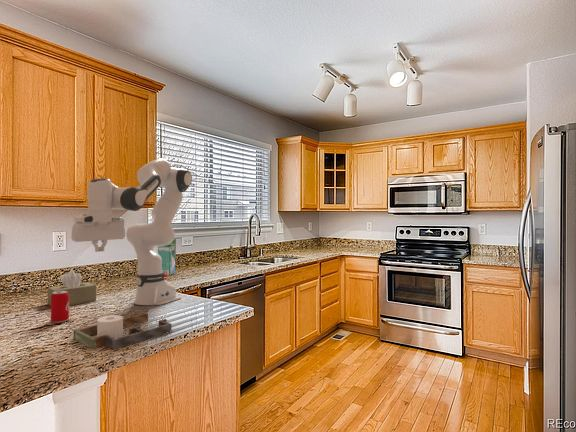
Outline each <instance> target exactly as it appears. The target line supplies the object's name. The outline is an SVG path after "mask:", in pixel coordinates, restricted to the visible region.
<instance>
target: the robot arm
mask: <svg viewBox="0 0 576 432" xmlns="http://www.w3.org/2000/svg"><path fill="white" fill-rule="evenodd" d="M136 178H137V181H138V183H139V184H140V185H139V186H131V187H118V186H117V185H115V184H114V183H112V181H111V179H109V178H106V177H105V178H104V177H103V178H93V179H91V180H90V181H89V182H88V185H87V202H88V203H87V204H88V205H87V206H88V207H87V213H83V214H80V215H77V216H74V218H73V221H74V223H73V225H72V226H71V227H72V229H71V237H70V238H71V240H72V241H73V242H77V243H79V242H82V243H83V242H91V244H92V245H93V247H94V251H95V252H96V253H98V252H105V247H106V245H107V244H108V241H110V240H111V241H114V240H123V239H124V238H125V237H126V240H127V241H128V242H129V243H130V244H131V245H132V247H133V248H134V251H135V254H136V258H137V274H136V292H135V298H134V301H133V304H135V305H138V306H160V305H161V306H163V305H166V304H168V303H172V302H174V301H177V300H181V298H182V297H181V295H179V294H177V292H176V291H177V290H176V287H175V286H174V285H173V284H172V283H170V282H169V281H167V280H166V279H165V278H169V277H170V275H169V274H166V273H165V274H164V273H162V258H161V256H160V255H159V254H158V251H156V249H155V247H158V246H166V245H170V244H171V243H172V242H173V240H174V239H175V230H174V229H173V227H172V221H173V220H174V218H175V216H176V214H177V212H178V211H179V208H180V206H181V205H182V201H183V199H184V196H183V195H184V194H183V193H185V192H186V191H187V189H188V188H190V186H191V185H192V182H193V176H192V173H191V172H190V170H189V169H187V168H177V167H171V164H170V162H168V160H167V159H164V158H157V159H154V160H151V161H149V162H147V163H146V164H143V166H141V167H140V168H139V169H138V170H137V173H136ZM160 188H163V189H164V192H163V193H162V194H161V196H160V197H159V199H158V200H157V202H156V203H155V205H154V206H153V208H152V210H151V217H152V218H153V221H152V222H151V223H143V222H142V223H135V224H131V225H130V226H129V227H128V228H127V230H125V220H124V219H123V218H122V217H113V215H112V214H113V212H112V211H113V210H114V211H116V210H119V211H123V210H124V211H132V212H139V210H141V209H142V208H143V207H144V206H145V203H146V202H147V200H148V199H149V198H150V197H151V196H152V195H153V194H154V192H156V191H157V189H160ZM99 241H100V242H101V245H100V246H99Z"/></svg>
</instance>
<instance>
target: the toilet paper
mask: <svg viewBox="0 0 576 432" xmlns="http://www.w3.org/2000/svg"><path fill="white" fill-rule="evenodd" d="M123 318H124V316H122V315H118V314H117V315H116V314H108V315H105V316H101V317H99V318H98V319H97V324H96V325H97V334H96V337H100V336H104V335H108V336H110V337H113V338H115V339H116V338H120V337H123V336H124V333H123V332H124V327H123Z"/></svg>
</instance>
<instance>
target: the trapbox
mask: <svg viewBox="0 0 576 432" xmlns="http://www.w3.org/2000/svg"><path fill="white" fill-rule="evenodd" d="M148 320H149V312H145V313H140V314H136V315H132V316H128V317H127V316H126V317H123V328H125V327H128V326H131V325H132V327H131V328H128V335H123V337H120V338H116V339H115V338H113V337H110V336H108V335H104V336H100V337H97V336H96V337H93V335H97V324H95V325H90V326H86V327H82V328H77V329H74V330H73V340H75V341H77V342H79V343H81V344H83V345H84V346H87V347H88V348H90V349H92V350H93V349H96V348H99V347H103V346H106V347H108V348H110V349H112V350H116V349H120V348H122V347H125V346H129V345H133V344H136V343H140V342H142V341H146V340H149V339H152V337H153V338H155V336H156V337H159V336H162V335H165V334H164V333H166V334H168V333H167V332H169V333H171V332H170V331H172V325H173V324H172V323H170V322H167V321H168V320H167V318H163V319H160V320H158V323H157V325H158V326H155V327H152V328H148V329H141V328H142V327H141V326H140V325H138V326H134V327H133V325H135V324H139V323H143V322H147V321H148ZM161 334H162V335H161ZM158 335H159V336H158Z"/></svg>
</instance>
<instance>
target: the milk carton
mask: <svg viewBox="0 0 576 432" xmlns="http://www.w3.org/2000/svg"><path fill="white" fill-rule="evenodd" d="M176 240H177V239H176V238H174V240H173V242H172V243H171V244H170V245H166V246H157V253H158V254H159V255H160V256H161V258H162V273H164V274H165V273H166V274H169V276H172V275H174V274H176V256H177V255H176V254H177V252H176V247H177V245H176V244H177V241H176ZM173 273H174V274H173ZM171 274H172V275H171Z"/></svg>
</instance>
